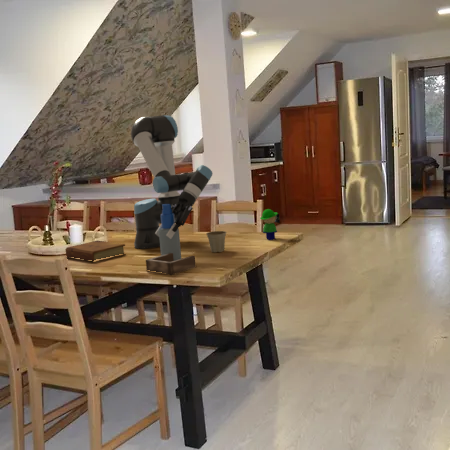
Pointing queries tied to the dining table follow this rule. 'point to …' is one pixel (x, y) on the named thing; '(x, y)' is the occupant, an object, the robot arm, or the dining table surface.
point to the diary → (95, 250)
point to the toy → (270, 223)
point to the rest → (170, 264)
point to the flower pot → (216, 240)
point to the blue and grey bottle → (167, 222)
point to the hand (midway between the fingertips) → (162, 236)
